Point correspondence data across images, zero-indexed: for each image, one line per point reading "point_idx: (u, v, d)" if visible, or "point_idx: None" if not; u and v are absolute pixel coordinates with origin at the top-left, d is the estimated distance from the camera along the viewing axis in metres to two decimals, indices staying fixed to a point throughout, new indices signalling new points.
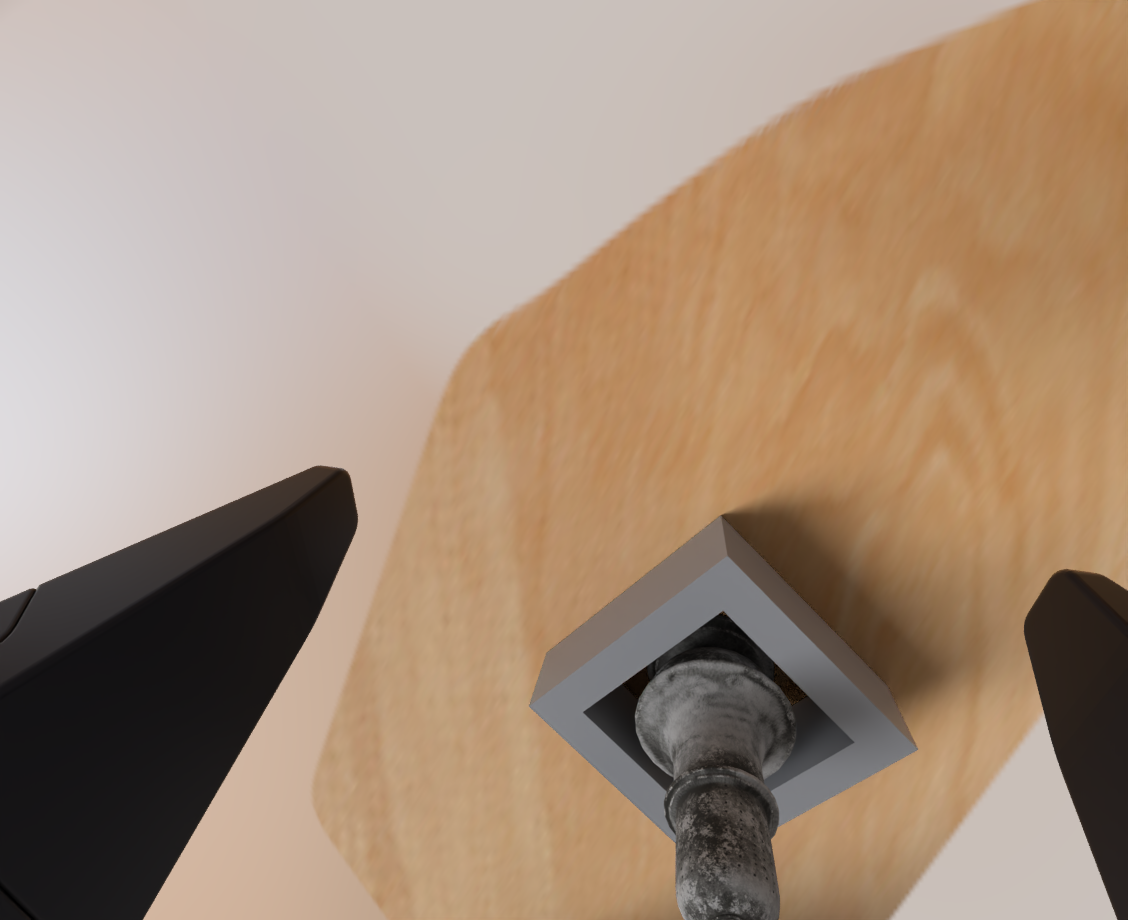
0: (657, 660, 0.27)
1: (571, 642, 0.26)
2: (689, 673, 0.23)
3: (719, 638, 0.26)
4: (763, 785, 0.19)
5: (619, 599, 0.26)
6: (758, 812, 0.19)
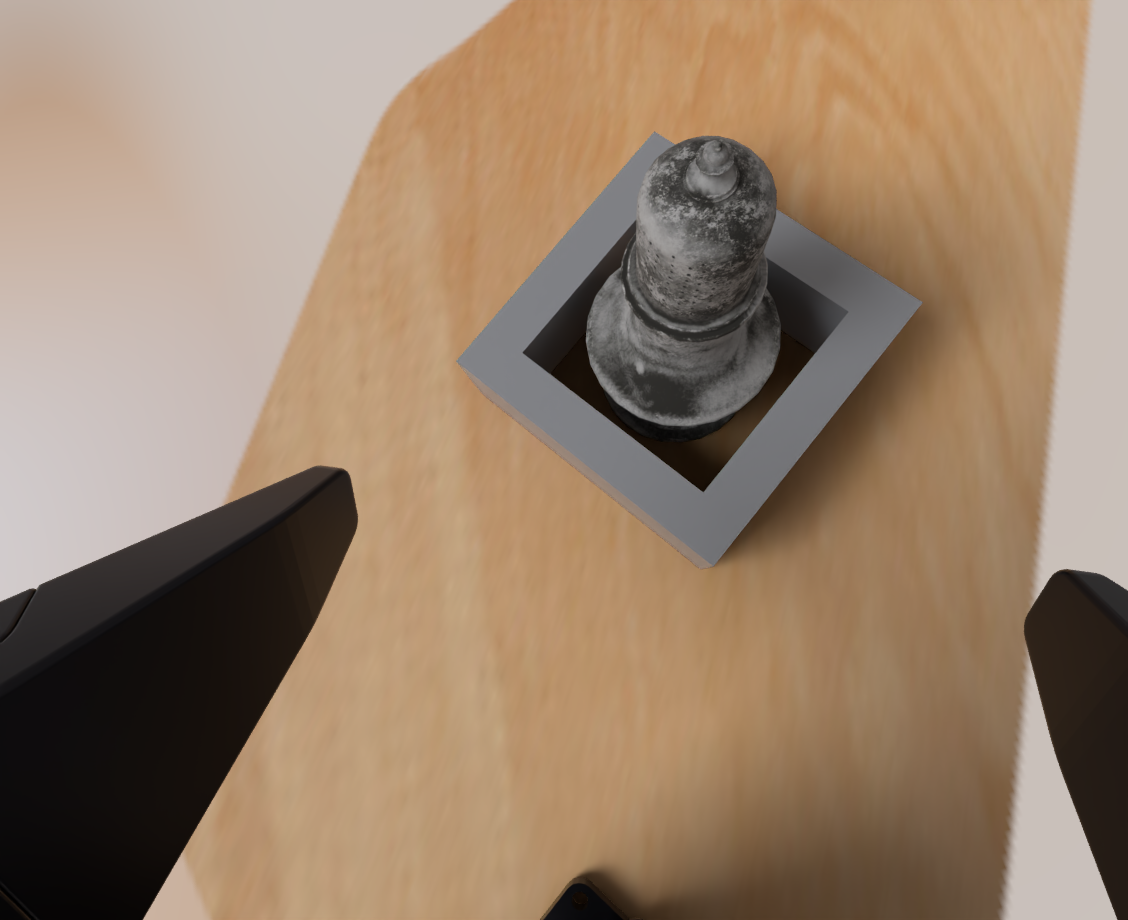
0: None
1: None
2: None
3: None
4: None
5: None
6: None
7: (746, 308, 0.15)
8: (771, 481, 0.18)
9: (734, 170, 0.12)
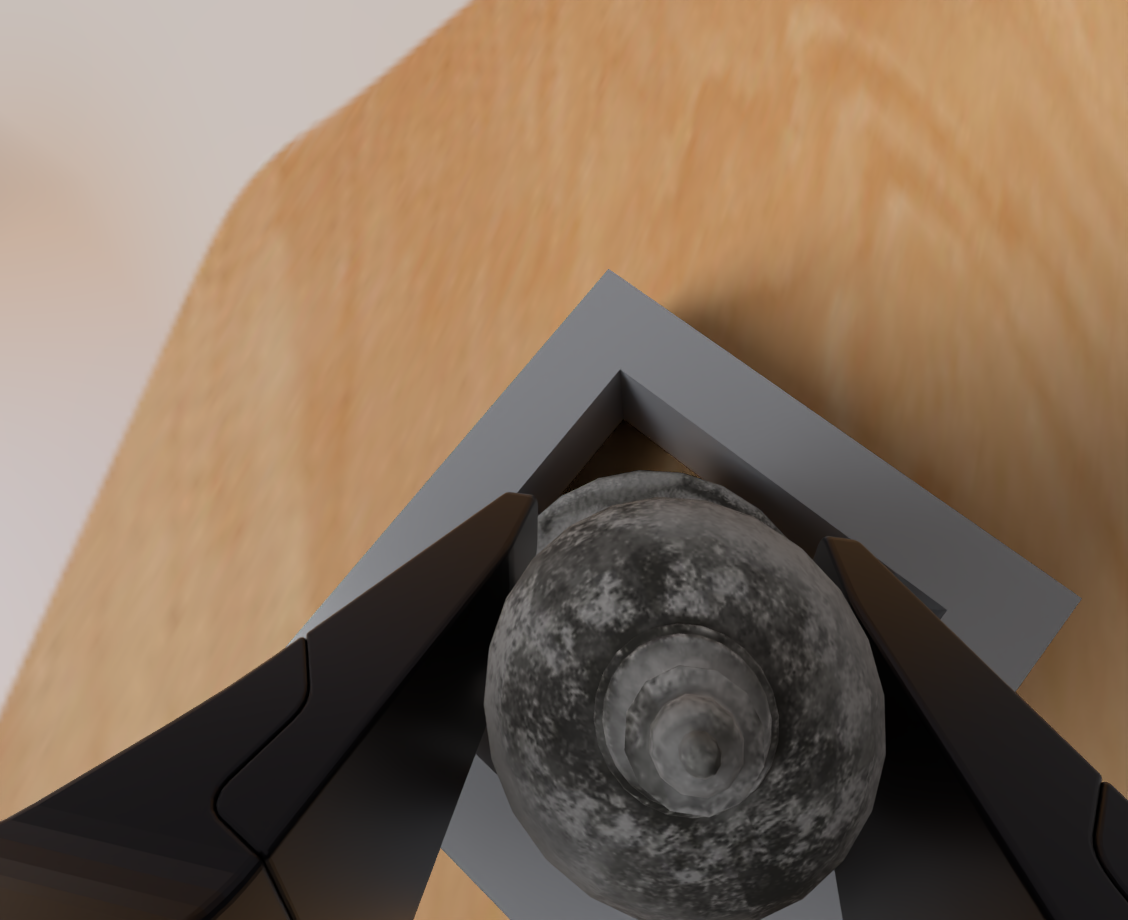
0: None
1: None
2: (579, 507, 0.11)
3: None
4: None
5: None
6: None
7: None
8: None
9: (760, 717, 0.03)
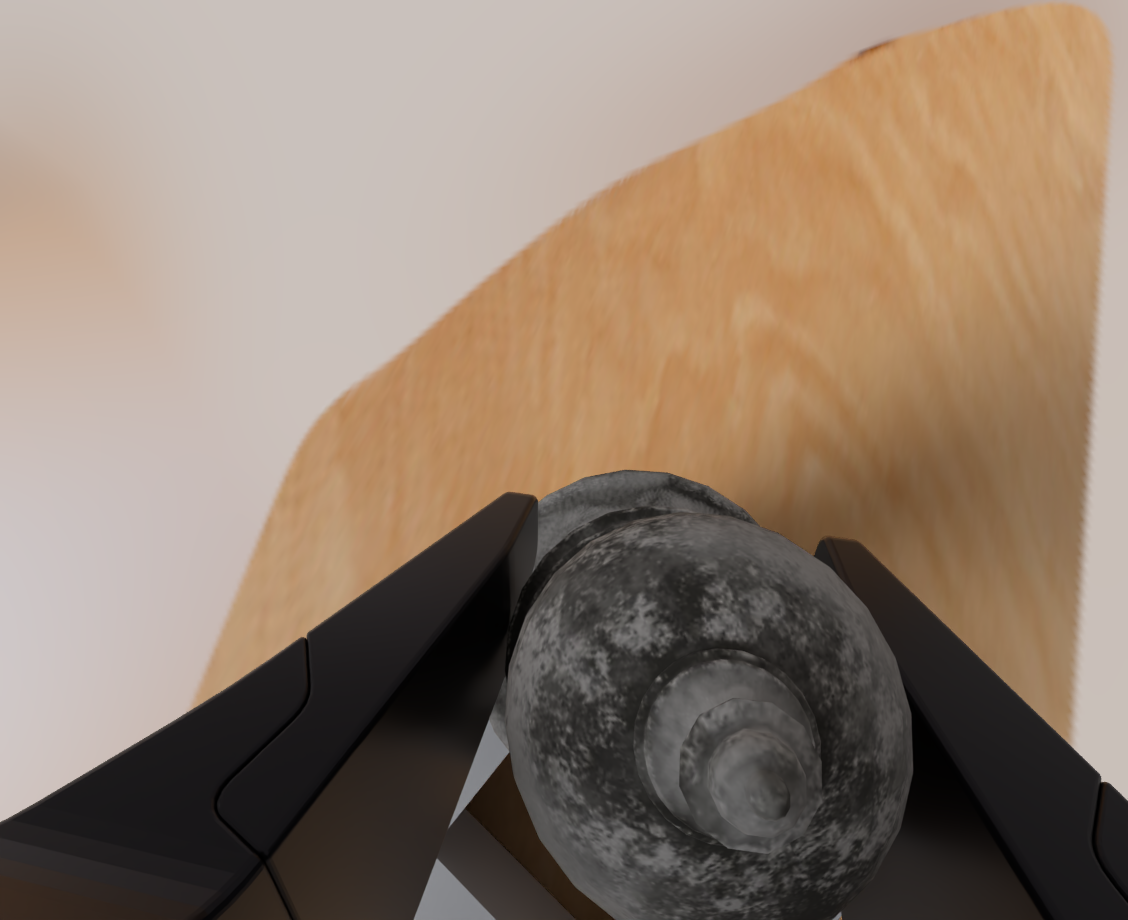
0: None
1: None
2: (565, 507, 0.11)
3: None
4: None
5: None
6: None
7: None
8: None
9: None
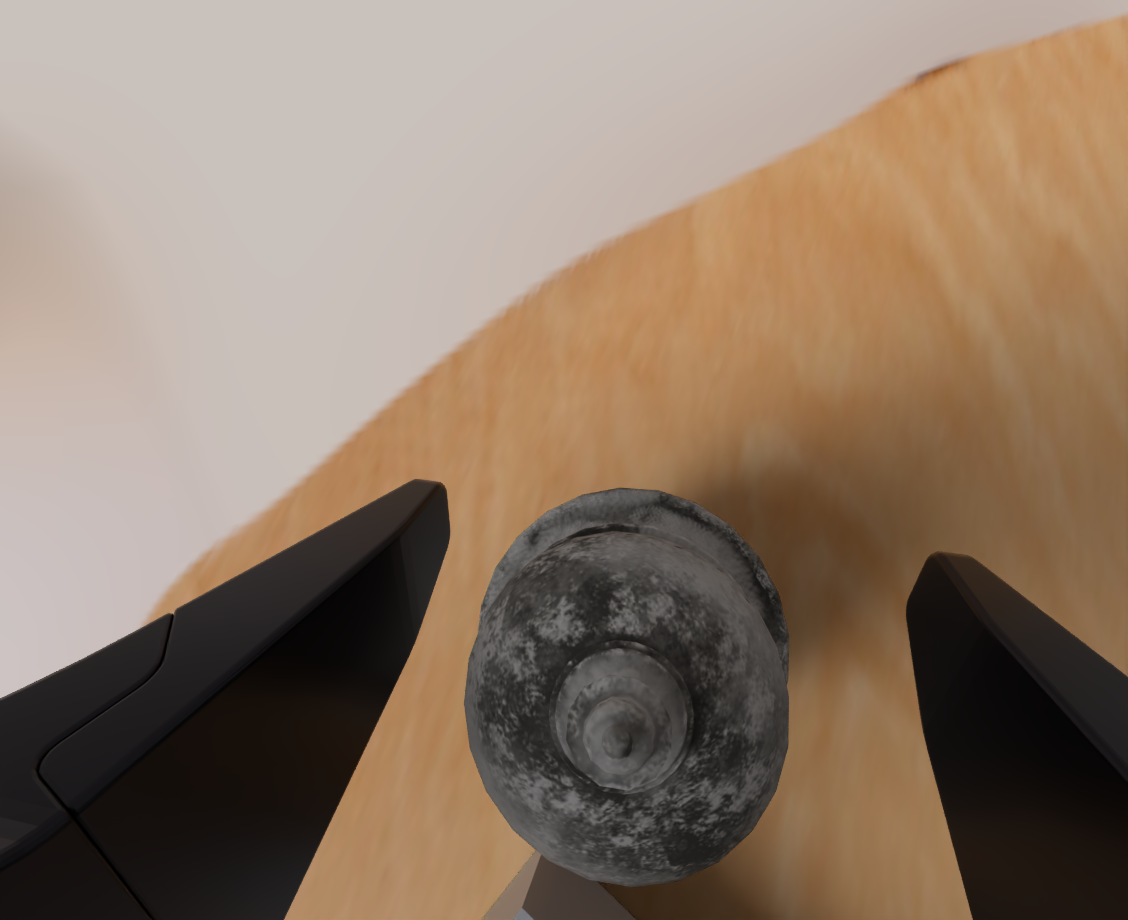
0: None
1: None
2: (564, 521, 0.12)
3: None
4: (706, 553, 0.08)
5: None
6: None
7: None
8: None
9: (677, 716, 0.04)
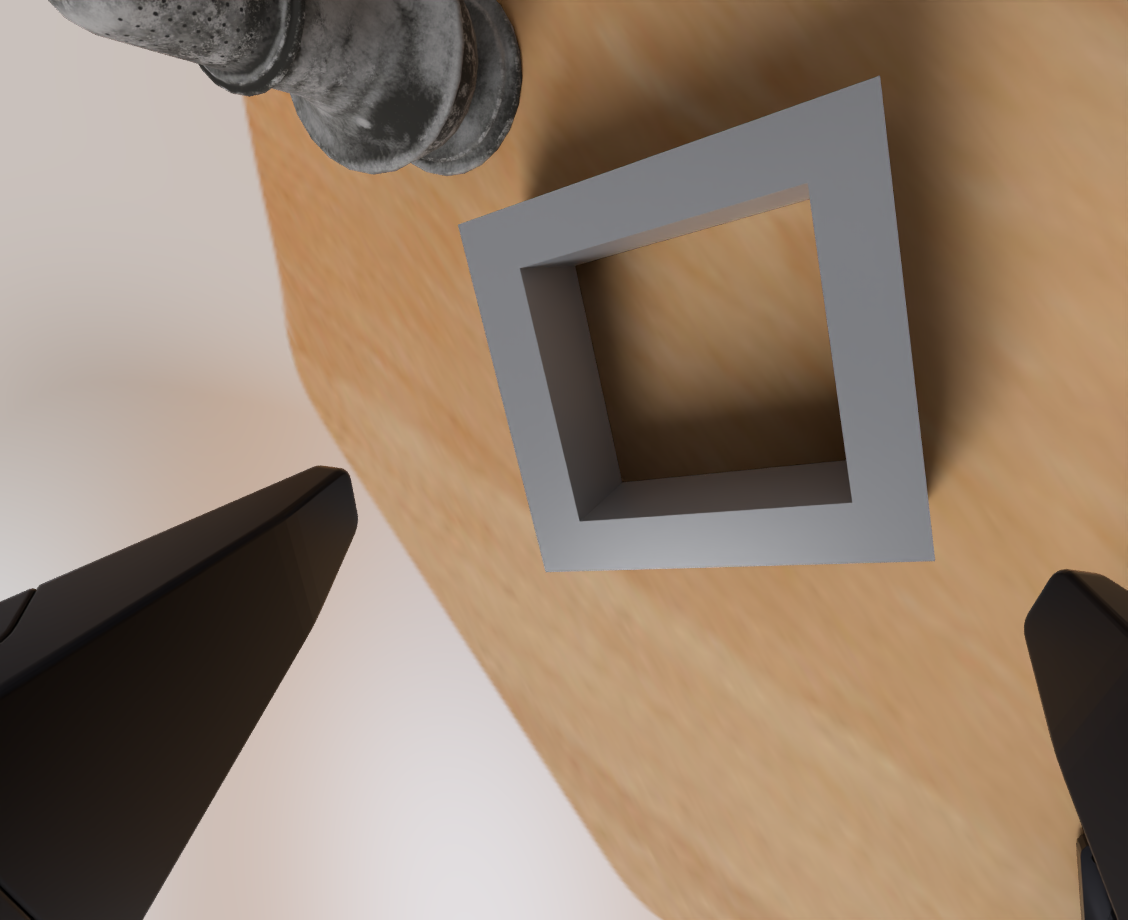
0: None
1: None
2: None
3: None
4: None
5: None
6: None
7: None
8: (909, 433, 0.13)
9: None
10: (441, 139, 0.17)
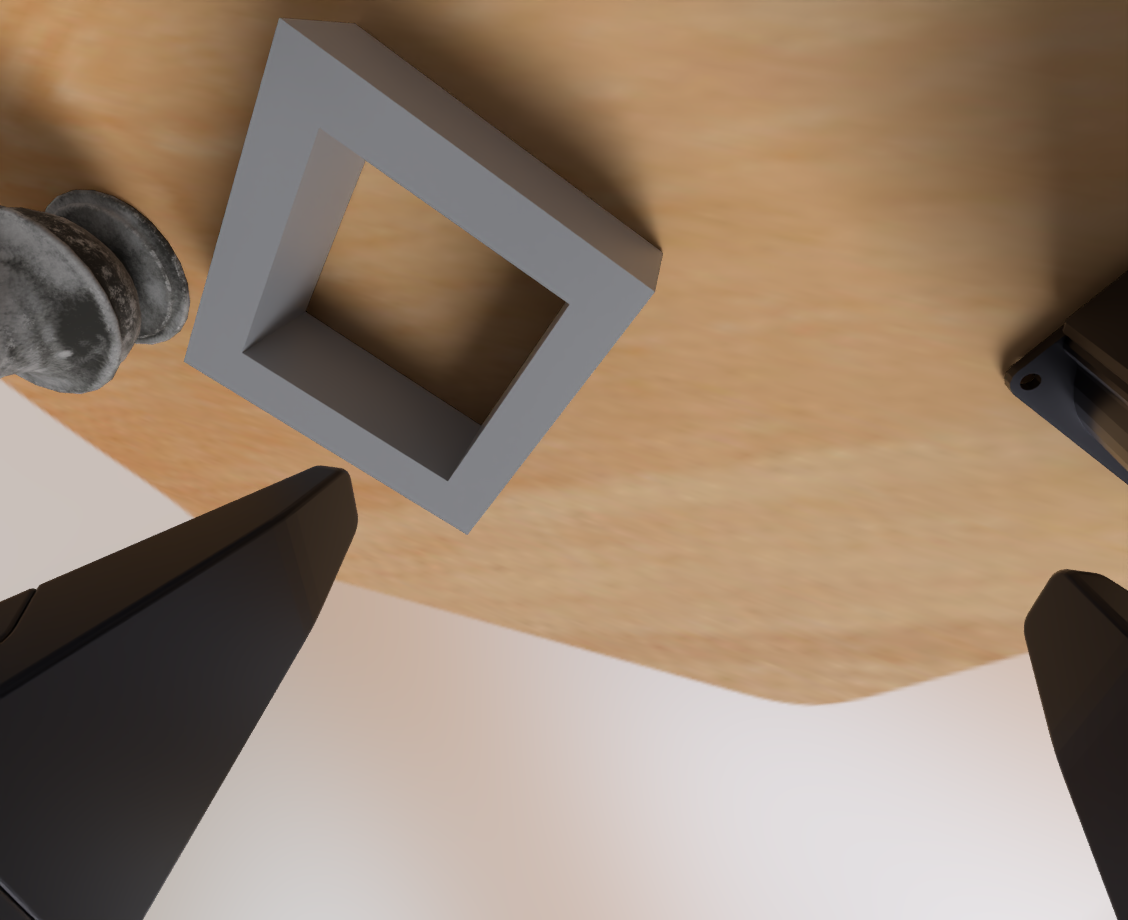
0: None
1: None
2: None
3: None
4: None
5: None
6: None
7: None
8: (547, 224, 0.15)
9: None
10: (128, 315, 0.19)
